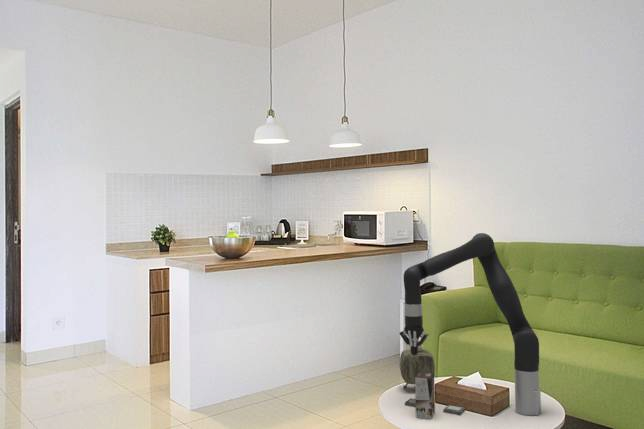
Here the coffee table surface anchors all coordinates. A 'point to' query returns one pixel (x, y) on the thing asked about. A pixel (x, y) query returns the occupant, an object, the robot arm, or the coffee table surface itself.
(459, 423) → the coffee table surface
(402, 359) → the ring-handled stone jug
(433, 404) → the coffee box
